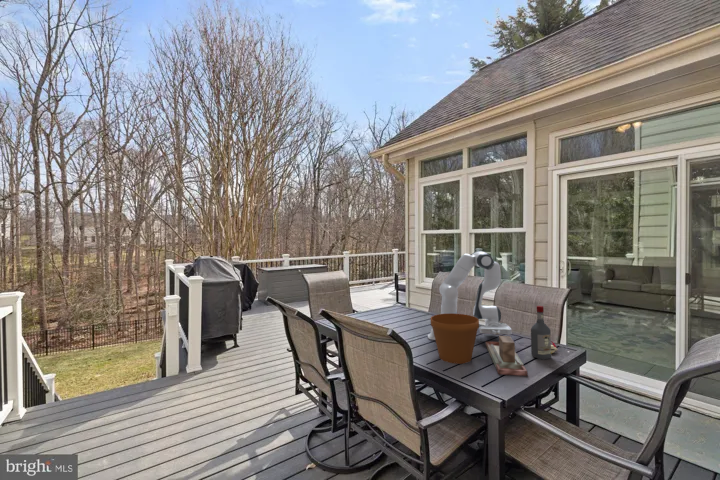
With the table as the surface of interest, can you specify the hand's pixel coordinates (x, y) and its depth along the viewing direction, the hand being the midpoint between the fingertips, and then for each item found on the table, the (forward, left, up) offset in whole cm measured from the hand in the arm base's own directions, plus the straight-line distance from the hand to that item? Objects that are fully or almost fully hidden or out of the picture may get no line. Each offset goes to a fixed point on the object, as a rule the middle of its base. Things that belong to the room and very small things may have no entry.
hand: (497, 333), depth 218 cm
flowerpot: (-28, -25, -9) cm, 39 cm away
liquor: (+22, -15, -9) cm, 28 cm away
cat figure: (+29, +1, -9) cm, 31 cm away
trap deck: (0, -23, -8) cm, 25 cm away
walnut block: (0, -30, -5) cm, 30 cm away
